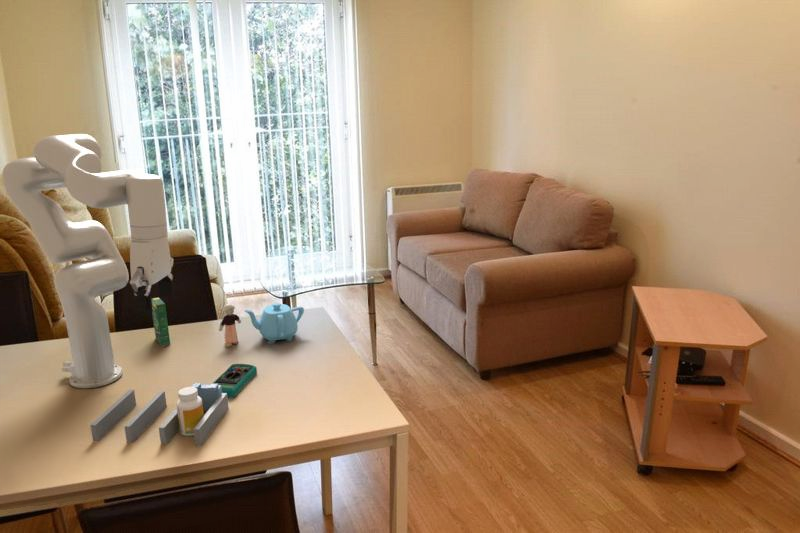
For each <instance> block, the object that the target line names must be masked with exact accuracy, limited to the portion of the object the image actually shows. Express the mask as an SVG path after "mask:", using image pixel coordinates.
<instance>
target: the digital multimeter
mask: <svg viewBox="0 0 800 533" xmlns="http://www.w3.org/2000/svg"><path fill="white" fill-rule="evenodd" d="M257 369H258V368H257V366H256V365H253V364H247V363H233V364H231V365H230V366H229V367H228V368H227V369H226V370H225V371H224V372H223V373H221V375H220V376H219V377H217V379H215V380H214V381H213V382H211V384H218V385H221V388H222V393H227V398H233V399H234V398H235V397H236V396H237V395H238V394H239V392H240V391H241V390H242V389H243V388H244V387H245V386H246V385H247V383H249V381H251V379H253V377H255V376H256V375H257V374H258V370H257Z"/></svg>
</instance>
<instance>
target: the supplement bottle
mask: <svg viewBox="0 0 800 533" xmlns="http://www.w3.org/2000/svg"><path fill="white" fill-rule="evenodd" d="M177 395H178V400H177V402H176V408H177V413H178V420H179V428H180V429H179V432H180V434H181V435H182V436H185V437H187V436H189V437H190V436H194V430H193V429H194V428H195V427H196V425H197V424H198V423H199V422H200V420H201V419H202V418H203V416H204V415H205V411H203V404H202V399H201V398H200V397H199V396H198V391H197V388H195V387H191V386H186V387H183V388H181V389H179V390H178V394H177Z"/></svg>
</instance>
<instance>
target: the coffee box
mask: <svg viewBox="0 0 800 533" xmlns="http://www.w3.org/2000/svg"><path fill="white" fill-rule="evenodd" d="M152 308H153V311H152V312H151V314H152V315H151V316H152V322H153V328H154V335H155V339H156V341H157V342H158V343H159V345H160V346H161V347H166V346H169V345H170V344H171V338H170V331H169V324H168V318H167V317H168V316H167V310H166V303H165V302H164V301H163V300H162V299H161V298H160V297H153V298H152Z"/></svg>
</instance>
